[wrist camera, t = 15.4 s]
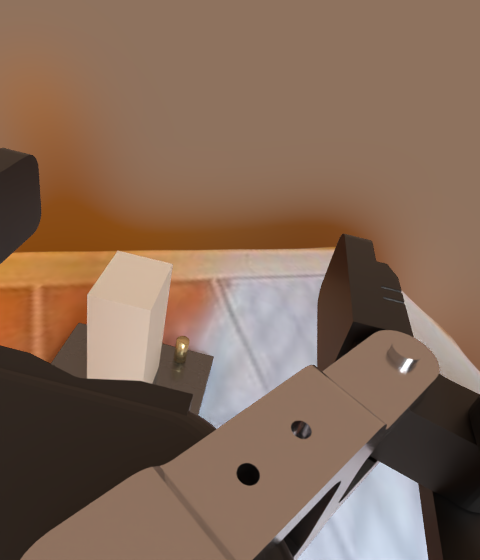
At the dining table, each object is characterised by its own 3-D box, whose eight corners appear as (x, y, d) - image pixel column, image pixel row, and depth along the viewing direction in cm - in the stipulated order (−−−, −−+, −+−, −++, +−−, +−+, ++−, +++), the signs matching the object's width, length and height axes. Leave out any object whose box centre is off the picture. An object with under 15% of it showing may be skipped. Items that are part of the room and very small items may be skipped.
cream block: (158, 366, 43) (172, 263, 36) (139, 417, 38) (150, 310, 31) (112, 355, 43) (117, 250, 36) (86, 405, 38) (87, 294, 31)
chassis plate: (211, 364, 46) (217, 338, 44) (182, 471, 36) (188, 444, 34) (78, 331, 46) (78, 303, 44) (13, 428, 36) (9, 399, 34)
